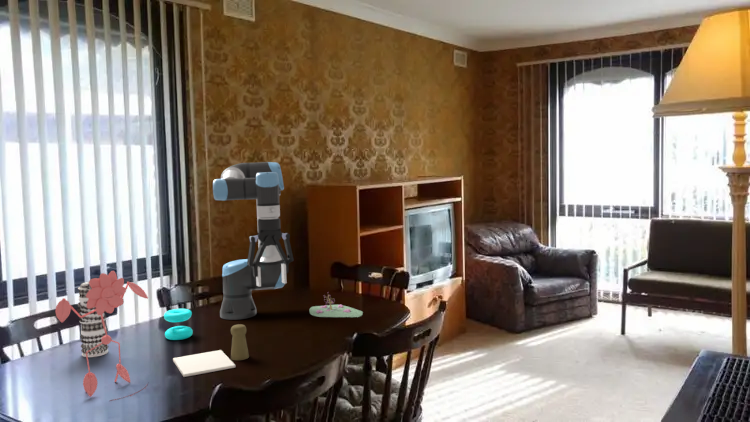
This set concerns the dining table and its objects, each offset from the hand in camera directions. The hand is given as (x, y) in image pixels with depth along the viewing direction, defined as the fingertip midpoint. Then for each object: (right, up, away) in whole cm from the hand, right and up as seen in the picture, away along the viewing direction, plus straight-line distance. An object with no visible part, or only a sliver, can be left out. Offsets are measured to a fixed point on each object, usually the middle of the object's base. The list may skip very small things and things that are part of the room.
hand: (271, 284), depth 208 cm
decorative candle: (-62, -25, +5) cm, 67 cm away
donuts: (-39, -23, +22) cm, 50 cm away
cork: (-10, -24, -4) cm, 26 cm away
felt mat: (-21, -25, -9) cm, 33 cm away
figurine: (-41, -27, -31) cm, 58 cm away
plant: (+19, -19, +54) cm, 60 cm away
